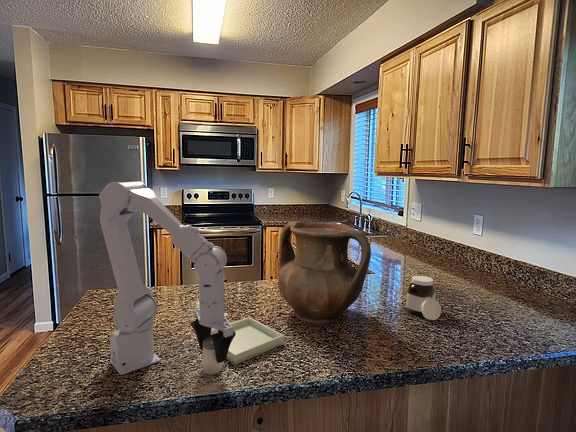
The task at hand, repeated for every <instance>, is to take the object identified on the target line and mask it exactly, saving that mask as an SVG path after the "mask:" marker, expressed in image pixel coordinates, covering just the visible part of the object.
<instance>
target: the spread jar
mask: <svg viewBox="0 0 576 432" xmlns="http://www.w3.org/2000/svg"><path fill="white" fill-rule="evenodd" d="M407 288H408V289H407V293H406V308H407V310H408V311H409V312H410V313H412V314H414V315H417V316H423V317H424V319H427V320H428V321H429V320H430V321H436V320H438V319H439V317H440V316H441V313H442V307H441V304H440V302H439V301H438V300H437V299H436V291H437V290H436V287H435V286H434V278H432V277H429V276H426V275H414V276H412V277H411V283H410V284H409V286H408V287H407Z"/></svg>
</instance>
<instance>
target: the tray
mask: <svg viewBox="0 0 576 432" xmlns="http://www.w3.org/2000/svg"><path fill="white" fill-rule="evenodd" d="M229 324H230V325H231V326H232V327H233V331H235V333H236V335H235V337H234V338H233V340H232V342H231V344H230V347H229V350H228V354H227V358H226V360H228V361H229V362H231V363H232V364H233V365H238V364H240V363H242V362H245V361H247V360H249V359H252V358H254V357H257V356H259V355H261V354H264V353H266V352H268V351H271V350H273V349H276V348H277V347H280V346H282V345H283V346H284V344H285V335H284V334H282V333H281V332H278V331H277V330H274V329H273V328H271V327H269V326H267V325H265V324H263V323H261V322H259V321H257V320H256V319H255V318H252V317H250V316H249V317H245V318H243V319H239V320H236V321H233V322H229ZM215 333H218V330H217V329H214V328H212V329H211V335H212V334H215Z"/></svg>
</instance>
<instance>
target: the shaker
mask: <svg viewBox="0 0 576 432" xmlns="http://www.w3.org/2000/svg"><path fill="white" fill-rule="evenodd" d="M202 363H203V364H202V366H203V367H202V369H203V370H202V371H203V372H204V373H205V374H207V375H215V374H218V373H220V372H222V369H223V362H221V363H217V361H216V356H215V348H214V345H213V342H212V340H211V338H210V337H209V338H206V339H204V340H203V350H202Z"/></svg>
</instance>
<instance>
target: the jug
mask: <svg viewBox="0 0 576 432" xmlns="http://www.w3.org/2000/svg"><path fill="white" fill-rule="evenodd" d="M280 232H281V233H280V235H279V242H278V243H279V245H278V279H277V286H278V287H277V288H278V291H279V293H280V294H281V296H282V297H283V299H284V300H285V301H286V302H287V304H288V305H289V307H291V309H292V310H293V315H294V316H295V317H296V318H297V319H299V320H300V321H301V322H304V323H309V324H310V323H311V324H321V325H323V324H325V325H326V324H331V323H334V322H338V321H339V320H340V319H341V318H342V316H343V313H344V312H345V311H347V310H348V308H350V307H351V306H352V305H353V304H354V303H355V302H356V300H357V299H358V298H359V296H360V295H361V293H362V290H363V288H364V284H365V283H364V282H365V280H366V277H367V275H368V270H369V266H370V263H371V262H370V261H371V255H372V249H371V244H370V241H369V240H368V238H367V236H366V235H365V234H364V233H363V232H361V231H360V230H359V229H358V230H357V229H356V228H354V227H351V226H350V225H347V224H339V223H334V222H333V223H332V222H303V221H291V222H287V224H285V225H284V226H283V228H282V230H281V231H280ZM292 234H293V236H295V250H294V248H293V247H294V246H292V243H291V239H292V238H291V235H292ZM350 240H355V241H356V242H357V243H358V244H359V246H360V248H361V257H360V262H359V264H358V267H357V269H356V268H355V267H354V266H352V264H351V263H349V260H348V257H349V254H348V250H349V247H348V246H349V242H350Z"/></svg>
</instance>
